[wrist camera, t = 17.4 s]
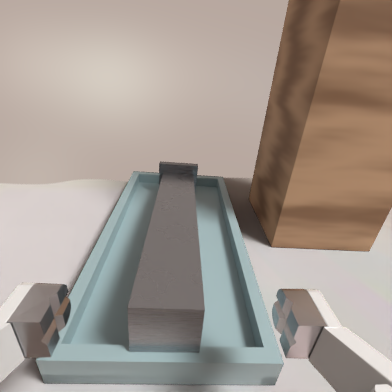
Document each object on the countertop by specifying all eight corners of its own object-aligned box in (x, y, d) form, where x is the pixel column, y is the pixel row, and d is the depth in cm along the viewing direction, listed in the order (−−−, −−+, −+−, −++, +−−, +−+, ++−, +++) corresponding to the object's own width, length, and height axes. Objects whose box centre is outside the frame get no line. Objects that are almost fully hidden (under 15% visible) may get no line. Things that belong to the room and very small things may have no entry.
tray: (274, 384, 13) (283, 363, 12) (44, 383, 13) (35, 360, 12) (220, 190, 35) (222, 176, 34) (134, 184, 34) (133, 171, 33)
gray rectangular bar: (208, 352, 13) (216, 293, 11) (120, 351, 12) (115, 290, 11) (194, 194, 31) (197, 164, 29) (159, 193, 31) (160, 161, 29)
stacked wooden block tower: (369, 251, 25) (602, -205, 12) (271, 246, 24) (406, -240, 11) (320, 202, 34) (424, -88, 21) (248, 198, 33) (310, -104, 20)
